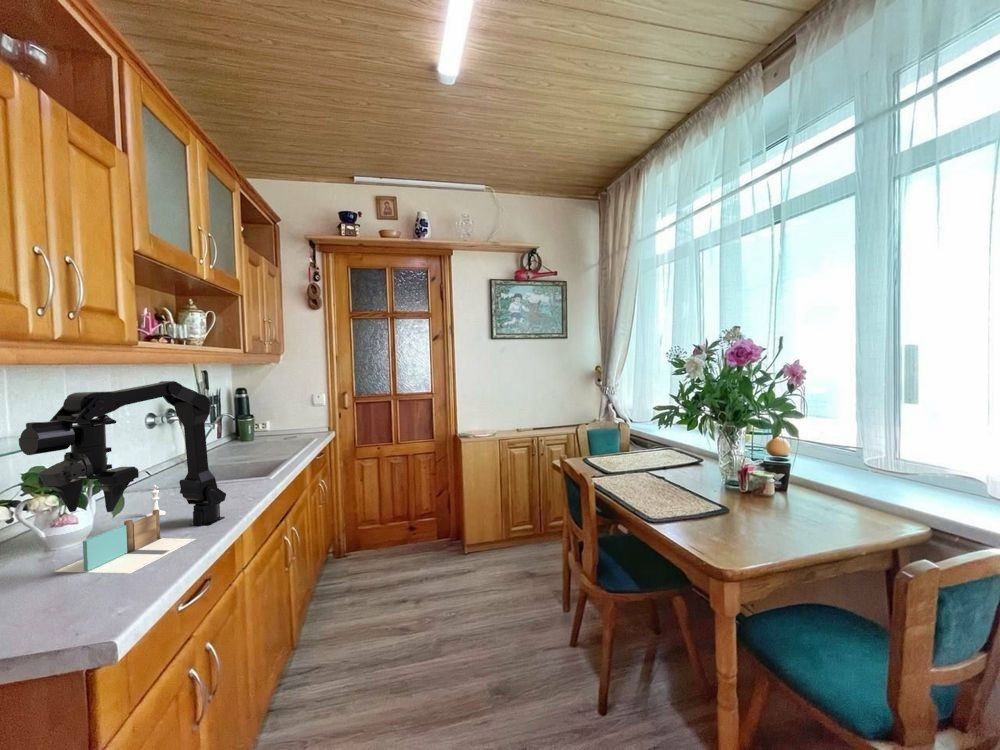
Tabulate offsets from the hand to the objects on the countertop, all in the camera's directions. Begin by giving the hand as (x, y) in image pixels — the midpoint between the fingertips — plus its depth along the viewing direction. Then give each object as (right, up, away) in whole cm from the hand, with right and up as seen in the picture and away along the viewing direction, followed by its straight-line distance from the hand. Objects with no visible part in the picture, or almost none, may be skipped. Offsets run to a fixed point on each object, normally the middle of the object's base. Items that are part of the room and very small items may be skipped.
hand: (91, 511), depth 93 cm
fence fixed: (+1, -13, +12) cm, 18 cm away
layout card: (+2, -14, +7) cm, 16 cm away
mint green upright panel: (0, -13, +3) cm, 13 cm away
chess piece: (-15, -14, +35) cm, 40 cm away
